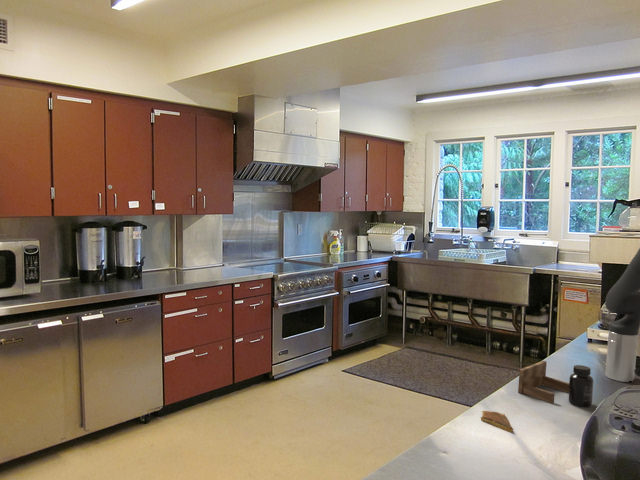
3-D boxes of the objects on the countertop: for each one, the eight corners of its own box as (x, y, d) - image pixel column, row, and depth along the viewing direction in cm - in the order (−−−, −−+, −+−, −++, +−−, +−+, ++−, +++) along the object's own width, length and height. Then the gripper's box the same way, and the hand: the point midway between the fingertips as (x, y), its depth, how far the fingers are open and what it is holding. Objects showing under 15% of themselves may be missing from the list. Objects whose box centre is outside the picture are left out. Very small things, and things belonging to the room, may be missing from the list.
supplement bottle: (589, 401, 163) (592, 365, 162) (593, 409, 156) (596, 372, 155) (566, 398, 165) (569, 362, 164) (569, 406, 159) (572, 369, 158)
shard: (513, 434, 139) (513, 428, 139) (484, 432, 140) (485, 426, 140) (504, 417, 150) (504, 412, 150) (478, 415, 151) (478, 410, 151)
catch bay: (541, 382, 179) (543, 360, 178) (573, 392, 170) (575, 369, 169) (518, 392, 169) (519, 369, 168) (550, 403, 160) (552, 379, 159)
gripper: (687, 327, 143) (636, 358, 154) (672, 334, 135) (618, 366, 145) (708, 350, 140) (654, 380, 150) (693, 359, 131) (637, 390, 142)
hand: (636, 373), depth 148 cm, fingers closed
